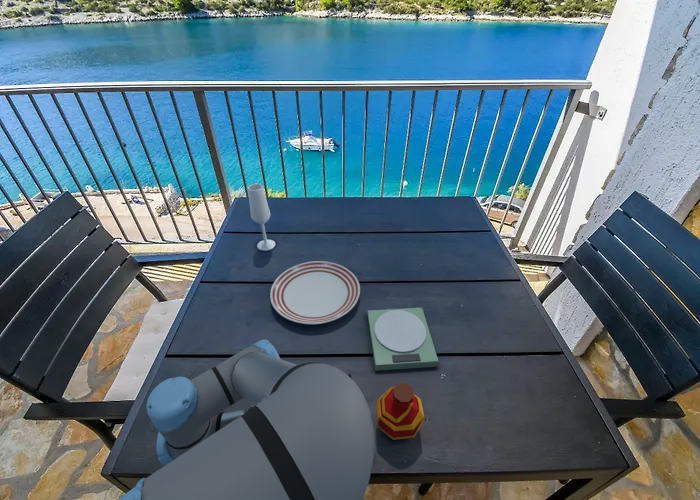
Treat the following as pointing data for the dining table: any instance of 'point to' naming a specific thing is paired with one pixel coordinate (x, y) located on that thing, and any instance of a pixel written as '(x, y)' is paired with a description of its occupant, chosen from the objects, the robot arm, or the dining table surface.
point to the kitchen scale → (401, 339)
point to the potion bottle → (400, 412)
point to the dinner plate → (315, 292)
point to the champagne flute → (260, 213)
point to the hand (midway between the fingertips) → (357, 409)
